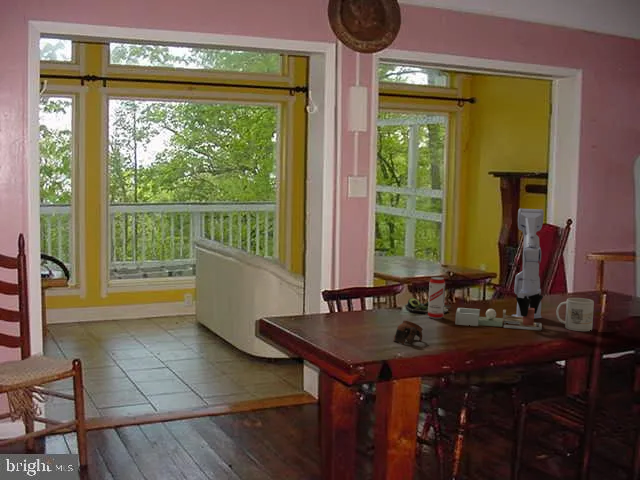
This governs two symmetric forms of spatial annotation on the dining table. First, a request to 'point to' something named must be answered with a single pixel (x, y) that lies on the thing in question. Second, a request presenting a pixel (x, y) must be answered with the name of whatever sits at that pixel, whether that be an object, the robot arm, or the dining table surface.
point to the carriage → (522, 318)
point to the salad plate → (419, 307)
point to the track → (499, 322)
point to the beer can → (436, 297)
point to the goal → (467, 316)
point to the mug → (578, 314)
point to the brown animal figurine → (407, 332)
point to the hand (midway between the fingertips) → (528, 314)
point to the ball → (490, 313)
